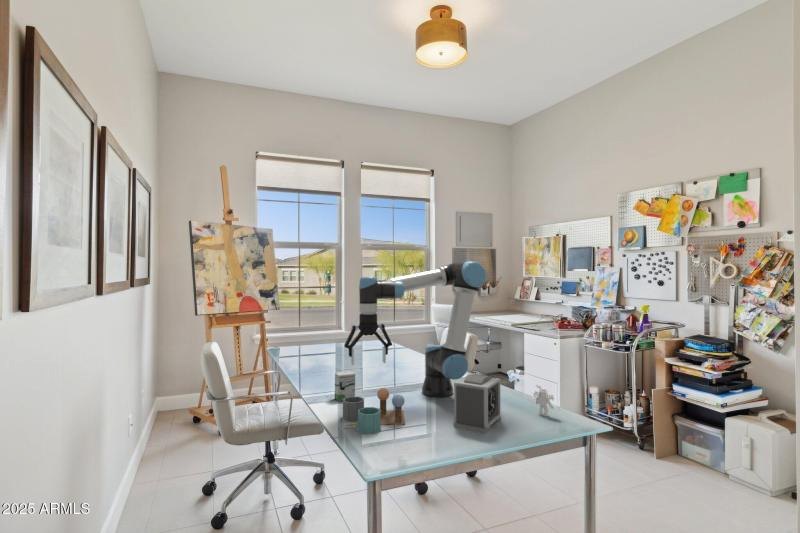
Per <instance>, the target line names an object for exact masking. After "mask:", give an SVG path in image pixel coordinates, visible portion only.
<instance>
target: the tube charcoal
mask: <svg viewBox="0 0 800 533" xmlns="http://www.w3.org/2000/svg"><path fill="white" fill-rule="evenodd" d="M361 408H365V398H364V397H361V396H355V397H347V398H344V399H343V400H342V419H343V420H345V421H348V422H350V421H355V422H356V421H357V422H358V410H359V409H361Z"/></svg>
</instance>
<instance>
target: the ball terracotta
mask: <svg viewBox="0 0 800 533" xmlns="http://www.w3.org/2000/svg"><path fill="white" fill-rule="evenodd" d="M376 393H377V394H376V396H377V398H378V400H379V401H380V400H382V401H385V400H386V401H387V400H388V399H389V397H390V391H389V390H388V389H387V388H386V387H382V388H379V389H378V390H377V392H376Z"/></svg>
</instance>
